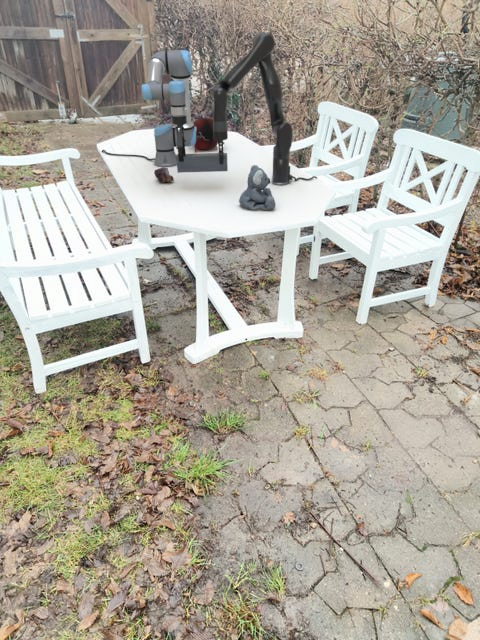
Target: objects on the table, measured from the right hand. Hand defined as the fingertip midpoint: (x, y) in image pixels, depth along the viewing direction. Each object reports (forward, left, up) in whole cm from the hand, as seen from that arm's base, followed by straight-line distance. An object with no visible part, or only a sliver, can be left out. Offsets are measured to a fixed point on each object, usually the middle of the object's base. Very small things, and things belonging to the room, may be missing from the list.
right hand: (221, 162), depth 244 cm
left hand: (+20, -5, +3) cm, 21 cm away
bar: (+10, -3, -4) cm, 11 cm away
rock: (+29, -23, -14) cm, 40 cm away
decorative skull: (-13, -91, -14) cm, 93 cm away
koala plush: (-9, +31, -14) cm, 36 cm away
